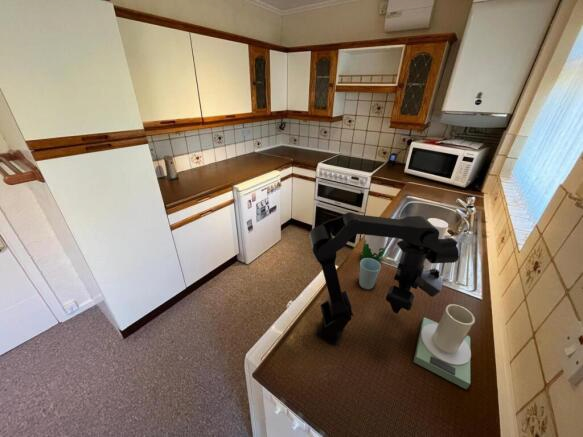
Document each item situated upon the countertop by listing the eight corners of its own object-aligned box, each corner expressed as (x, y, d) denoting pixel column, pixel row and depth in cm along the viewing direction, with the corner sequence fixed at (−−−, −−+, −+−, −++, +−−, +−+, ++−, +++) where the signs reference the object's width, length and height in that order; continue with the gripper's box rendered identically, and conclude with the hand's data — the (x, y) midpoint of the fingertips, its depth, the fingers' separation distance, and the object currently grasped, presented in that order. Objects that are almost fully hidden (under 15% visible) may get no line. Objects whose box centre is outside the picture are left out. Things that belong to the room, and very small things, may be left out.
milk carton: (377, 268, 105) (386, 230, 95) (358, 260, 110) (365, 222, 100) (384, 259, 111) (394, 221, 101) (366, 251, 116) (373, 215, 106)
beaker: (451, 357, 67) (468, 329, 61) (428, 339, 72) (441, 311, 66) (462, 345, 70) (479, 316, 64) (439, 328, 75) (453, 300, 69)
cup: (378, 291, 93) (383, 271, 88) (358, 291, 93) (362, 270, 88) (373, 278, 99) (377, 258, 94) (354, 277, 100) (358, 257, 95)
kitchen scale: (466, 389, 63) (471, 382, 61) (413, 362, 69) (416, 355, 68) (466, 342, 75) (471, 335, 73) (421, 322, 81) (424, 315, 79)
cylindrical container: (430, 279, 99) (451, 228, 87) (412, 276, 100) (430, 226, 88) (426, 268, 105) (444, 219, 93) (408, 266, 106) (424, 217, 94)
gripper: (442, 296, 54) (423, 339, 61) (448, 254, 67) (431, 293, 75) (391, 277, 59) (379, 318, 67) (406, 241, 73) (395, 279, 80)
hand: (398, 301), depth 72 cm, fingers open, 9 cm apart
